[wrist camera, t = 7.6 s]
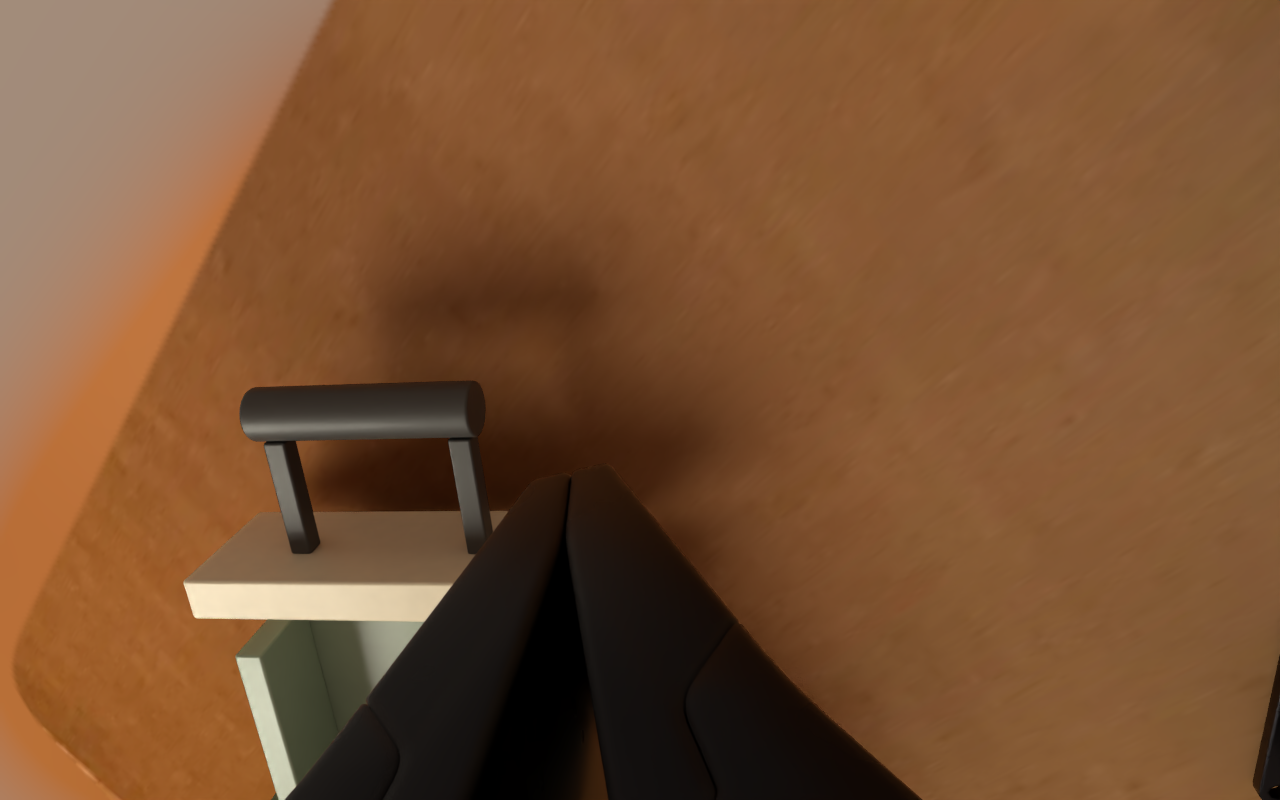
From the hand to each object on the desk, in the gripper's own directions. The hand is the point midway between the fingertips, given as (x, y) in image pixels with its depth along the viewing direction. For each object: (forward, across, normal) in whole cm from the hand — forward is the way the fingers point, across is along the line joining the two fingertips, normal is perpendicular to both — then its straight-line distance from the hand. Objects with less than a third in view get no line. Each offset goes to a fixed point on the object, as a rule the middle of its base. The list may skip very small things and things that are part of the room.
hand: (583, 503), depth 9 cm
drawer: (+13, +7, +12) cm, 19 cm away
